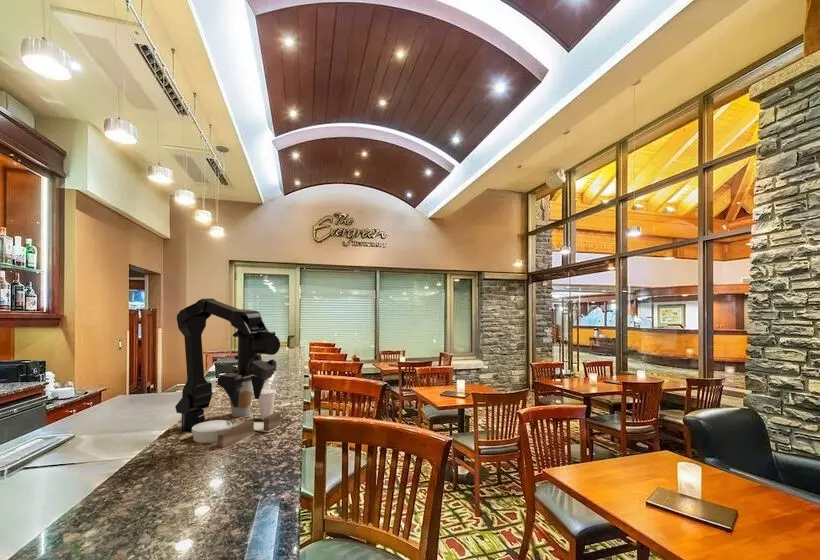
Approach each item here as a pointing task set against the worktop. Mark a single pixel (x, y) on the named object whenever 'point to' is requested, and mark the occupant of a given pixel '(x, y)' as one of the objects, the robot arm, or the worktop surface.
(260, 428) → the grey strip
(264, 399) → the smoothie
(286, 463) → the worktop surface
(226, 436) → the wooden handled dough scraper
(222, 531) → the worktop surface
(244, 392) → the coffee cup
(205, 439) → the ramekin
